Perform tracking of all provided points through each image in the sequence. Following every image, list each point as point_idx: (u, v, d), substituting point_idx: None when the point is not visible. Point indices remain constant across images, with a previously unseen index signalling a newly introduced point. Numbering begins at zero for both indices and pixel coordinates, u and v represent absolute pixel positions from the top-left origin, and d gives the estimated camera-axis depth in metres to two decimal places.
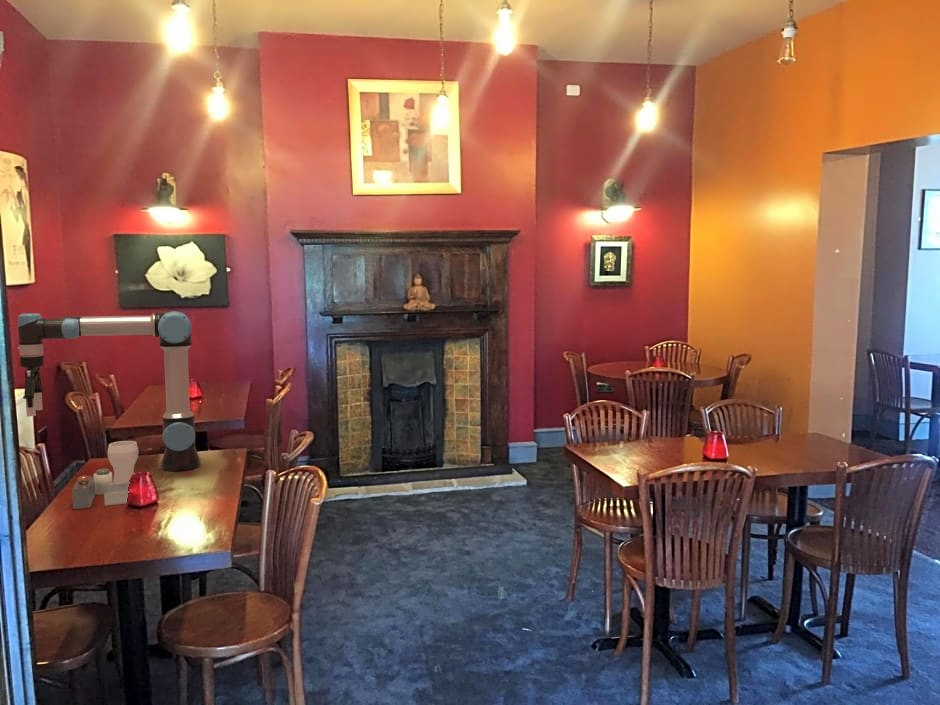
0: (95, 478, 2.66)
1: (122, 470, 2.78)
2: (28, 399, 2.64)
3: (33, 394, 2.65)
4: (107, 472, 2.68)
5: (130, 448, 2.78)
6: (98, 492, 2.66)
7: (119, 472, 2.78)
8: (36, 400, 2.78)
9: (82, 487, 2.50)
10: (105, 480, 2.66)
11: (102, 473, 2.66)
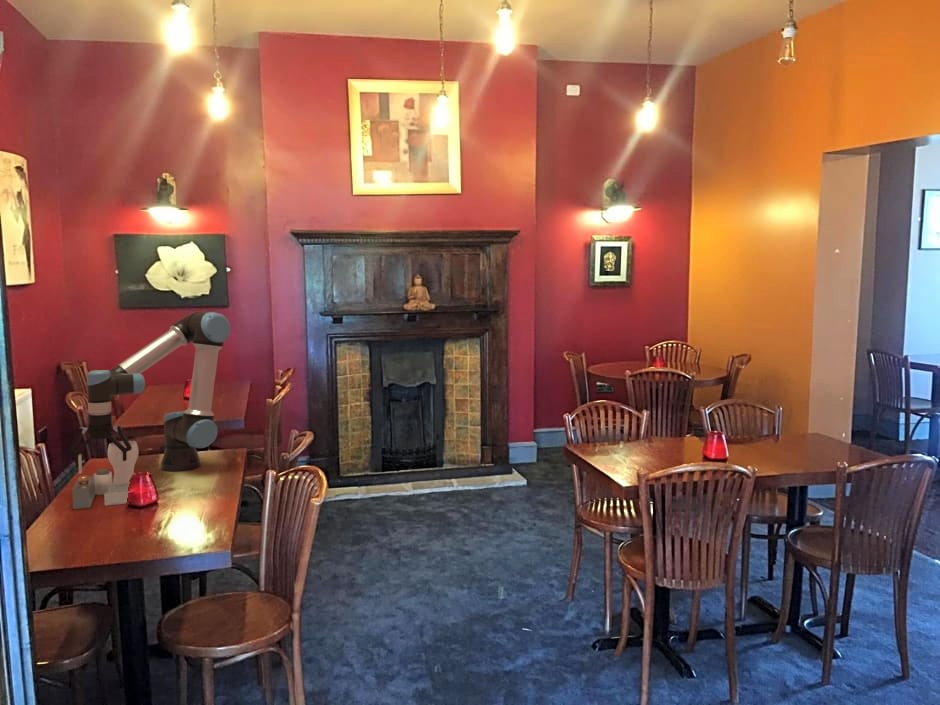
0: (95, 478, 2.66)
1: None
2: (75, 455, 2.65)
3: (77, 451, 2.63)
4: (107, 472, 2.68)
5: None
6: (98, 492, 2.66)
7: (119, 472, 2.78)
8: None
9: (82, 487, 2.50)
10: (105, 480, 2.66)
11: (102, 473, 2.66)
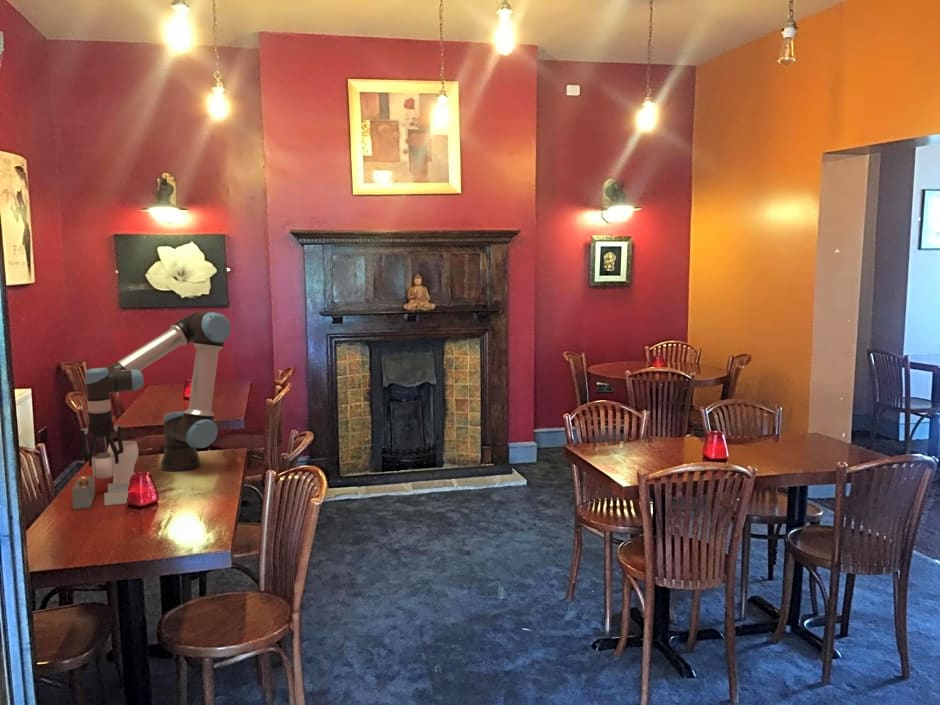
0: (96, 462, 2.66)
1: (122, 470, 2.78)
2: None
3: (89, 454, 2.65)
4: (108, 456, 2.67)
5: (130, 448, 2.78)
6: (99, 476, 2.66)
7: (119, 472, 2.78)
8: None
9: (82, 487, 2.50)
10: (106, 463, 2.66)
11: (103, 457, 2.66)
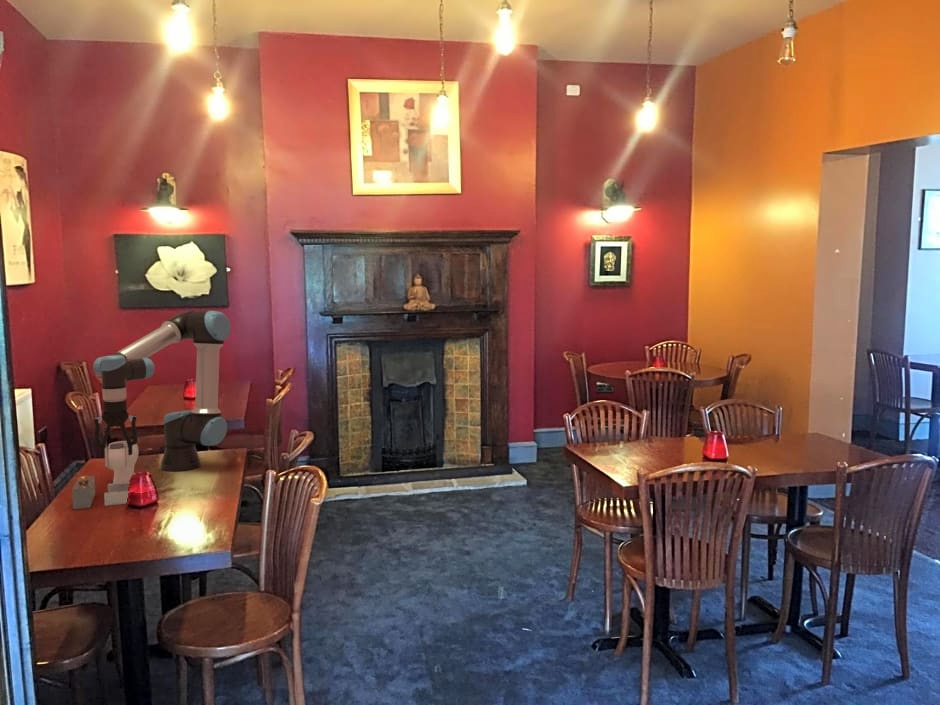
0: (109, 452, 2.57)
1: (122, 470, 2.78)
2: (101, 448, 2.58)
3: (102, 444, 2.56)
4: (121, 446, 2.58)
5: None
6: (112, 467, 2.57)
7: (119, 472, 2.78)
8: None
9: (82, 487, 2.50)
10: (119, 454, 2.57)
11: (116, 447, 2.57)
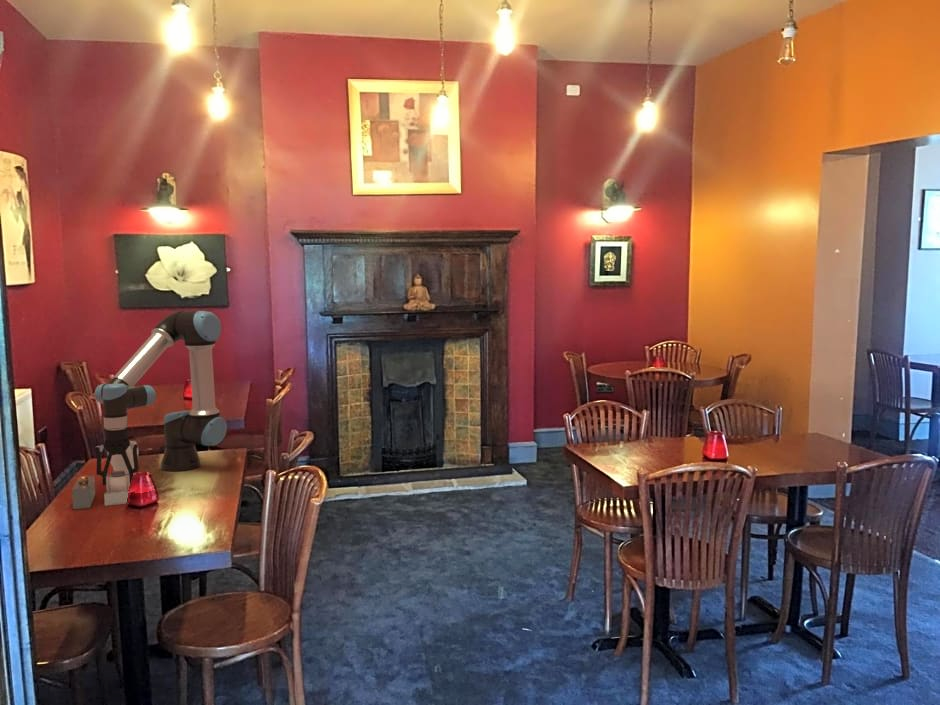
0: (110, 480, 2.58)
1: (122, 470, 2.78)
2: None
3: (103, 472, 2.57)
4: (122, 474, 2.59)
5: (130, 448, 2.78)
6: None
7: None
8: None
9: (82, 487, 2.50)
10: (120, 482, 2.58)
11: (117, 475, 2.58)
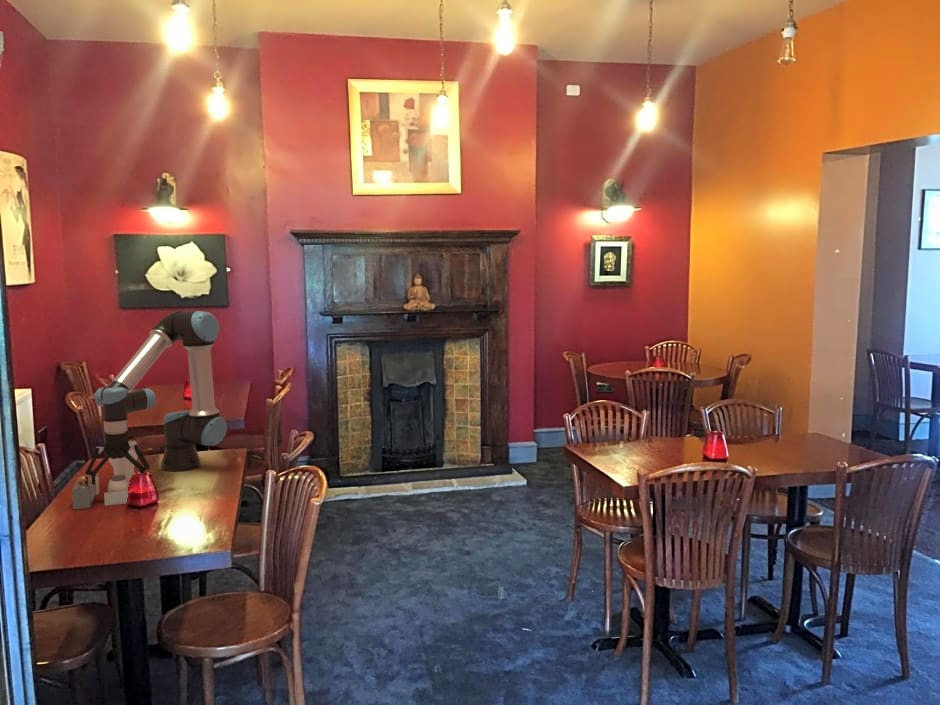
0: (111, 484, 2.58)
1: (122, 470, 2.78)
2: (91, 475, 2.57)
3: (93, 472, 2.56)
4: (123, 478, 2.60)
5: None
6: None
7: (119, 472, 2.78)
8: None
9: (82, 487, 2.50)
10: (121, 486, 2.58)
11: (118, 479, 2.58)
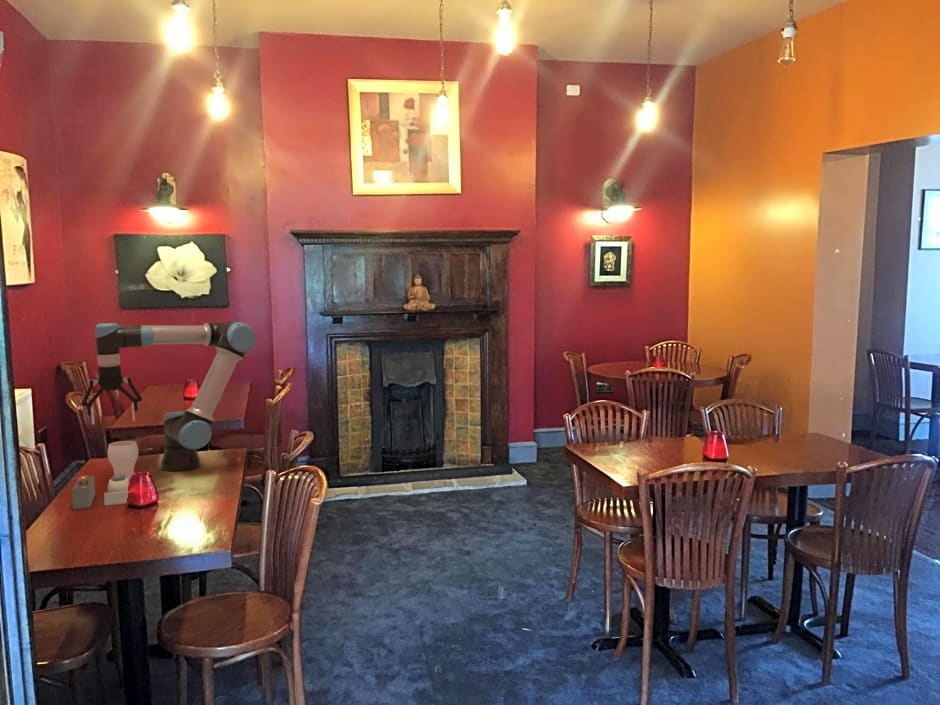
0: (111, 484, 2.58)
1: (122, 470, 2.78)
2: (87, 407, 2.71)
3: (89, 403, 2.69)
4: (123, 478, 2.60)
5: (130, 448, 2.78)
6: None
7: (119, 472, 2.78)
8: None
9: (82, 487, 2.50)
10: (121, 486, 2.58)
11: (118, 479, 2.58)
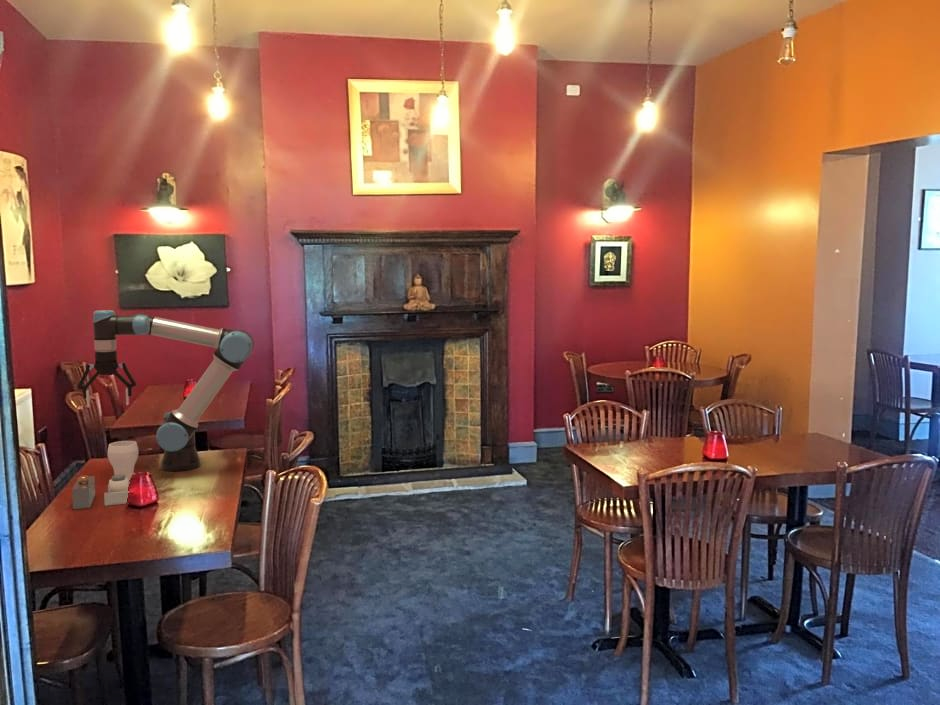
0: (111, 484, 2.58)
1: (122, 470, 2.78)
2: (83, 390, 2.81)
3: (85, 386, 2.80)
4: (123, 478, 2.60)
5: (130, 448, 2.78)
6: None
7: (119, 472, 2.78)
8: None
9: (82, 487, 2.50)
10: (121, 486, 2.58)
11: (118, 479, 2.58)
